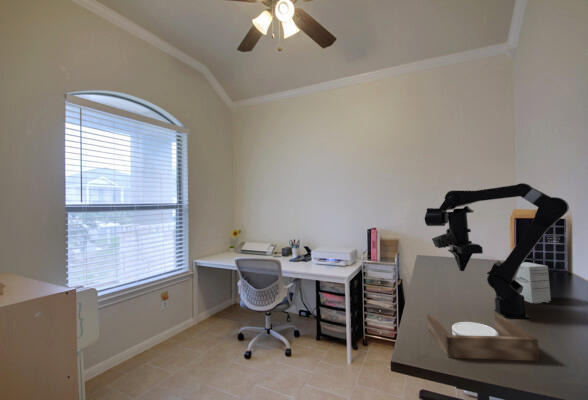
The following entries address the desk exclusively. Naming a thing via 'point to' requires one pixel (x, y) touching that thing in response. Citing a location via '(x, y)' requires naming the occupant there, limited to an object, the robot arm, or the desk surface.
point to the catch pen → (487, 342)
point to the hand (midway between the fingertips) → (461, 270)
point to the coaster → (473, 329)
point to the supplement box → (534, 282)
